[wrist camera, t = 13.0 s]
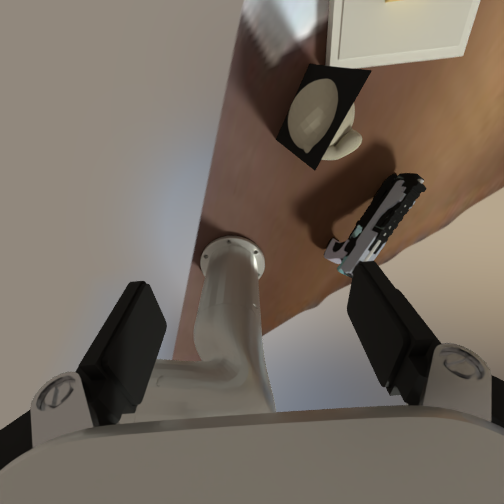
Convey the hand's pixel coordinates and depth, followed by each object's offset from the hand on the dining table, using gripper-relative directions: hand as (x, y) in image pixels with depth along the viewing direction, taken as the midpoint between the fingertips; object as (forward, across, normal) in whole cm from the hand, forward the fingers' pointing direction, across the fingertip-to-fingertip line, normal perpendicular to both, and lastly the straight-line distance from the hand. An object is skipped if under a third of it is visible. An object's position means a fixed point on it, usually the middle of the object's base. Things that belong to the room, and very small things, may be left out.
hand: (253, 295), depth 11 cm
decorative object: (+31, -10, -4) cm, 32 cm away
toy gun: (+31, -19, +12) cm, 38 cm away
